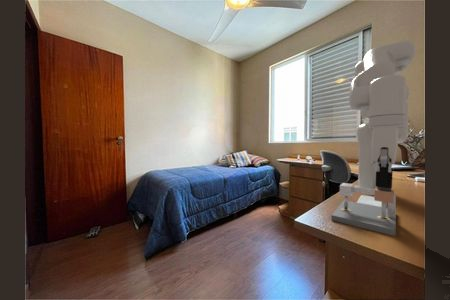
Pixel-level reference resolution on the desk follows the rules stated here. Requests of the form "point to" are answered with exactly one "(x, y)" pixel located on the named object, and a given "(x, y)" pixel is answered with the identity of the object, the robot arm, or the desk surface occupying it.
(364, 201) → the hard drive
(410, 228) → the desk surface
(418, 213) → the desk surface
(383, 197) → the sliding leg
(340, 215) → the bolt plate
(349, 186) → the light grey bracket
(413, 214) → the desk surface
